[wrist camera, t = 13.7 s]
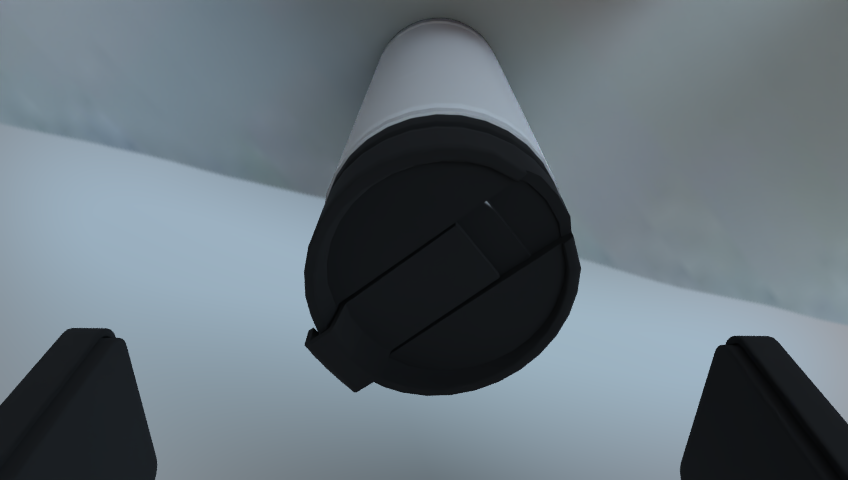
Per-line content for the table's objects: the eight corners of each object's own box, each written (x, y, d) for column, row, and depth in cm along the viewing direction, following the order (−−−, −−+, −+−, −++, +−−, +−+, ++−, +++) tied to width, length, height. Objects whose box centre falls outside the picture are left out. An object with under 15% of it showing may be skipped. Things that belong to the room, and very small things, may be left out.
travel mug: (345, 75, 30) (223, 282, 13) (450, -11, 29) (480, 92, 11) (421, 168, 33) (408, 454, 15) (523, 94, 31) (647, 321, 13)
